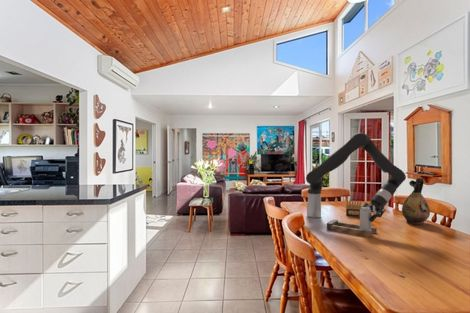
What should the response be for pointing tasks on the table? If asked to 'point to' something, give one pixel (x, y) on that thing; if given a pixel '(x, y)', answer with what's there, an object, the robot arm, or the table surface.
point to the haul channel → (349, 228)
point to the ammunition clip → (353, 208)
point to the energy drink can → (365, 218)
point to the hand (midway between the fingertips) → (365, 219)
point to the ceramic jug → (416, 204)
